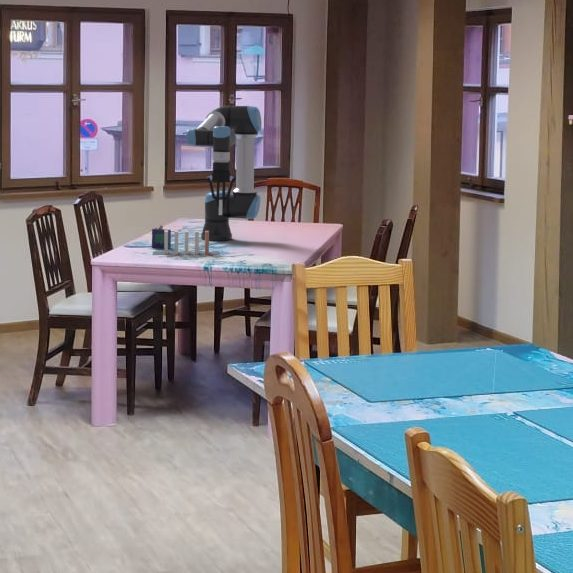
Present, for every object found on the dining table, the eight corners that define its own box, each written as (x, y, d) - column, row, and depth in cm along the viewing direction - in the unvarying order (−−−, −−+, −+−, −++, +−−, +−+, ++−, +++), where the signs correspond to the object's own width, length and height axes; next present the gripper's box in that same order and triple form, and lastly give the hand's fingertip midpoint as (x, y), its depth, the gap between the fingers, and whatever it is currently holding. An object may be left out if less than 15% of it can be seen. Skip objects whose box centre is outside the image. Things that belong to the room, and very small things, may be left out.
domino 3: (184, 254, 529) (184, 231, 527) (184, 252, 534) (184, 230, 532) (188, 254, 529) (188, 232, 528) (188, 252, 534) (188, 230, 532)
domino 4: (194, 254, 530) (195, 232, 528) (194, 252, 535) (194, 230, 533) (198, 254, 530) (198, 232, 528) (198, 252, 535) (198, 230, 533)
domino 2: (174, 254, 529) (174, 231, 527) (174, 252, 534) (174, 230, 532) (178, 254, 529) (178, 231, 527) (178, 252, 534) (178, 230, 532)
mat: (152, 255, 525) (152, 254, 525) (152, 252, 535) (152, 251, 535) (220, 256, 528) (220, 255, 528) (219, 252, 538) (219, 252, 538)
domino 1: (164, 254, 528) (164, 231, 527) (164, 252, 533) (164, 230, 531) (167, 254, 528) (168, 231, 527) (167, 252, 533) (168, 230, 532)
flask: (171, 248, 547) (171, 225, 545) (169, 249, 545) (169, 226, 543) (153, 247, 550) (152, 224, 548) (150, 248, 547) (150, 225, 545)
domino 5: (205, 254, 530) (205, 232, 528) (204, 252, 535) (205, 230, 533) (208, 254, 530) (209, 232, 529) (208, 252, 535) (208, 230, 533)
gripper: (206, 161, 522) (206, 215, 526) (236, 162, 523) (235, 215, 527) (206, 160, 529) (205, 213, 533) (235, 161, 530) (234, 214, 534)
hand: (220, 214), depth 530 cm, fingers closed
